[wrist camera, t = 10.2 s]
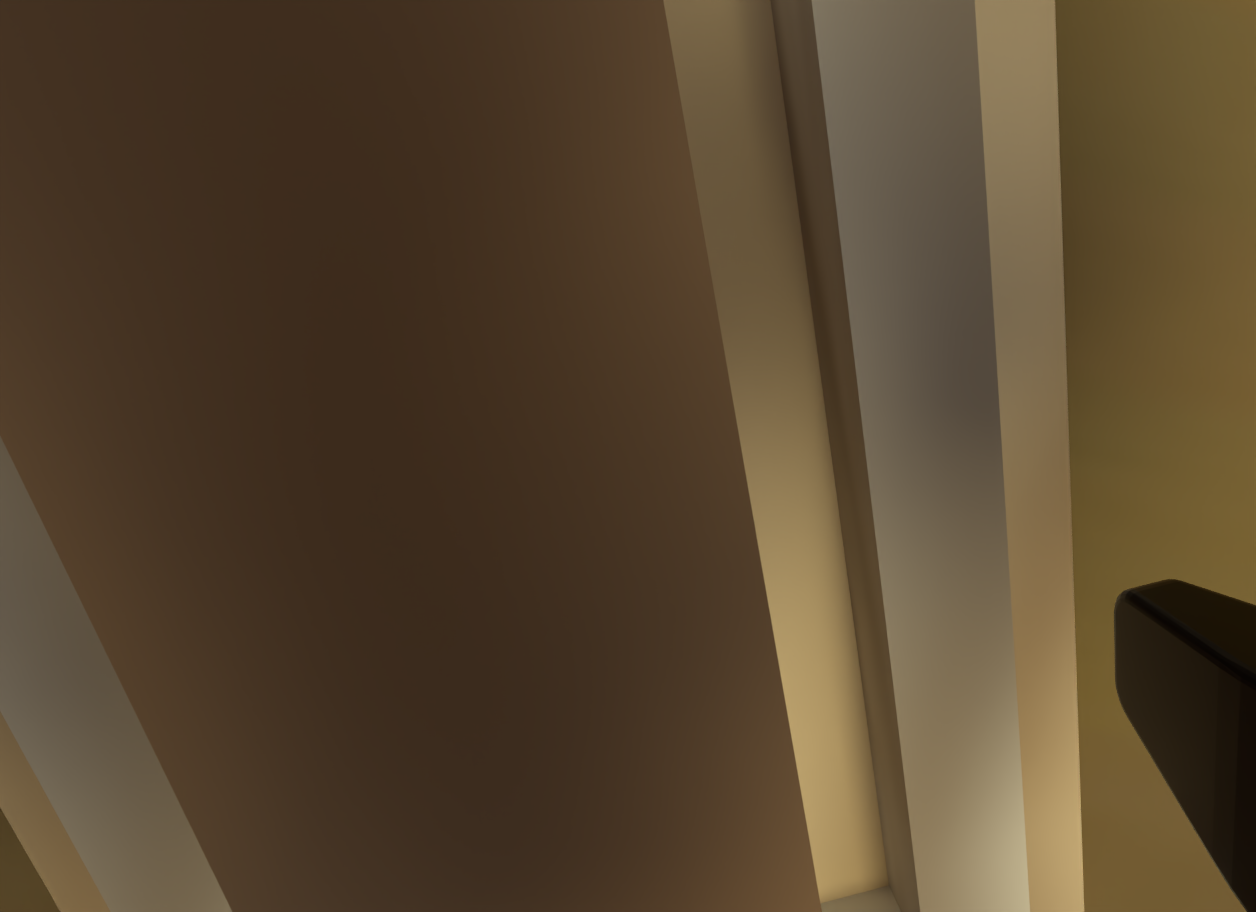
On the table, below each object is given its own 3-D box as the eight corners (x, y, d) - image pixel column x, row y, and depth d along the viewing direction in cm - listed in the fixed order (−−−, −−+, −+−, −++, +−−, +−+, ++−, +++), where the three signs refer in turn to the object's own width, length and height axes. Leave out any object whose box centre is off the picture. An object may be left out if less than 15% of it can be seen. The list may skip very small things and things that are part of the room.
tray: (217, 1102, 18) (184, 1267, 16) (-612, -411, 10) (-937, -516, 7) (1054, 881, 19) (1136, 1009, 17) (978, -727, 10) (1126, -914, 8)
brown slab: (459, 894, 16) (465, 1389, 10) (127, -22, 11) (-200, 22, 5) (738, 822, 16) (884, 1272, 11) (542, -114, 11) (634, -163, 5)
